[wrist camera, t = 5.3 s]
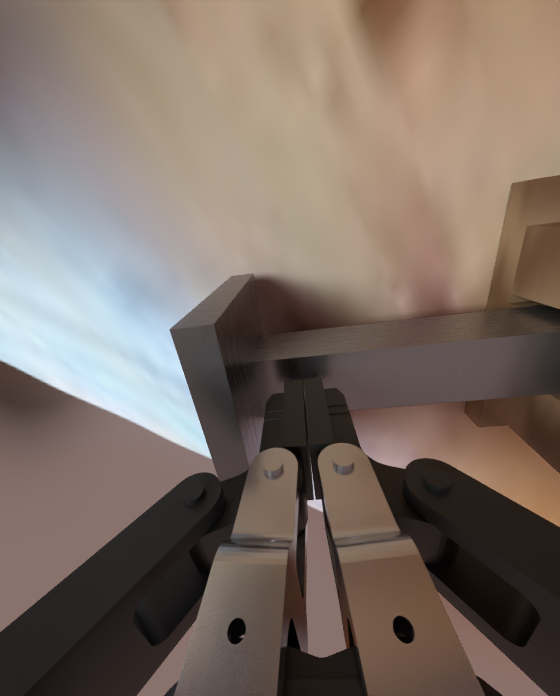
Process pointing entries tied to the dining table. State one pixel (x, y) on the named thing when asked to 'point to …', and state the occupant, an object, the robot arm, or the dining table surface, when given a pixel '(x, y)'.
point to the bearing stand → (522, 291)
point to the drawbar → (353, 363)
